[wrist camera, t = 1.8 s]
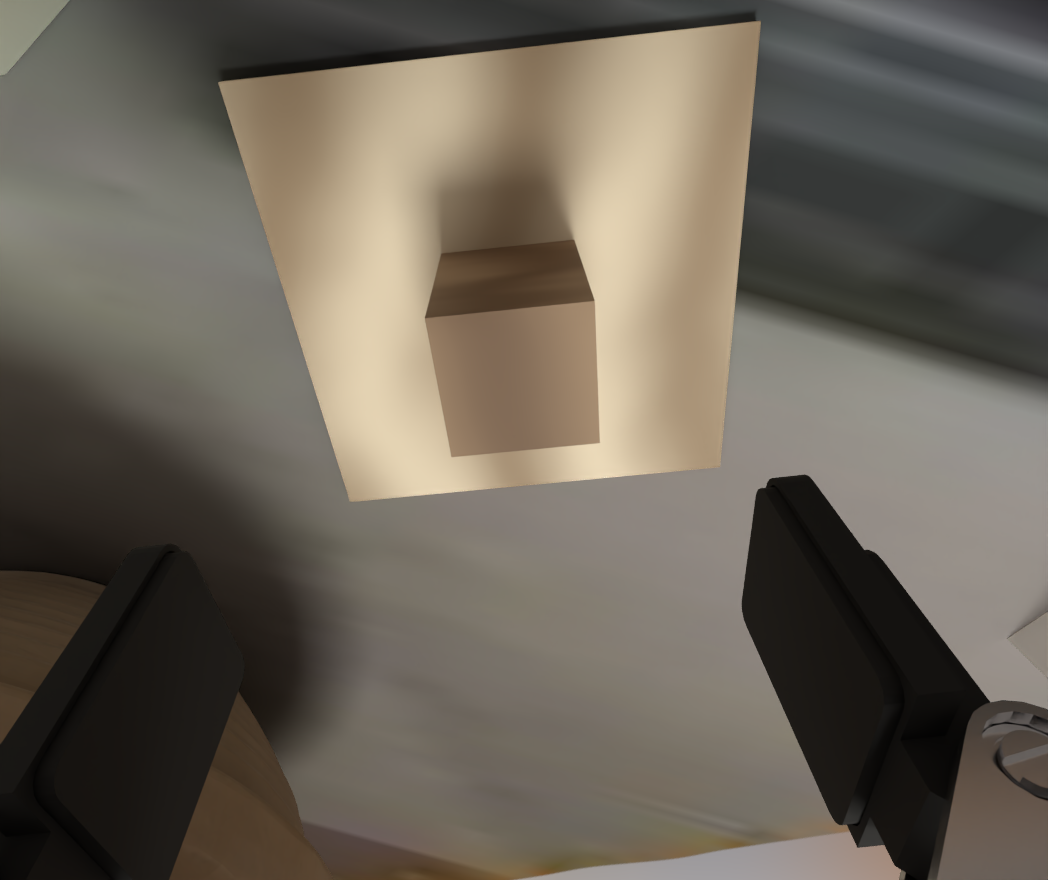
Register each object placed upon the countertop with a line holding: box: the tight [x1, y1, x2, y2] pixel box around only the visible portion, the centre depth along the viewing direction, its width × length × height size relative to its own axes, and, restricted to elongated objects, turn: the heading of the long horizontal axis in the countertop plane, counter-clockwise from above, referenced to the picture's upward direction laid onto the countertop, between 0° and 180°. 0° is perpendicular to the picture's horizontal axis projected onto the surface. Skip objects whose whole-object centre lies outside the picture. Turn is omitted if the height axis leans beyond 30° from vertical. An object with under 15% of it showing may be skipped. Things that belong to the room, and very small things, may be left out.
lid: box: [218, 21, 761, 502], centre depth 18 cm, size 14×14×6 cm
